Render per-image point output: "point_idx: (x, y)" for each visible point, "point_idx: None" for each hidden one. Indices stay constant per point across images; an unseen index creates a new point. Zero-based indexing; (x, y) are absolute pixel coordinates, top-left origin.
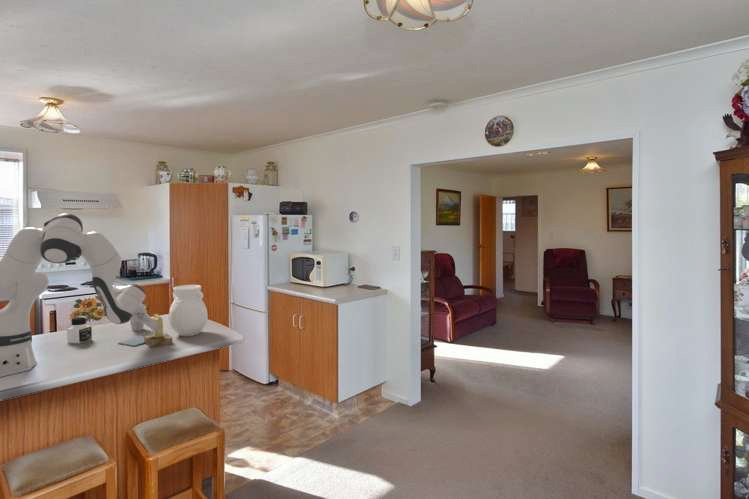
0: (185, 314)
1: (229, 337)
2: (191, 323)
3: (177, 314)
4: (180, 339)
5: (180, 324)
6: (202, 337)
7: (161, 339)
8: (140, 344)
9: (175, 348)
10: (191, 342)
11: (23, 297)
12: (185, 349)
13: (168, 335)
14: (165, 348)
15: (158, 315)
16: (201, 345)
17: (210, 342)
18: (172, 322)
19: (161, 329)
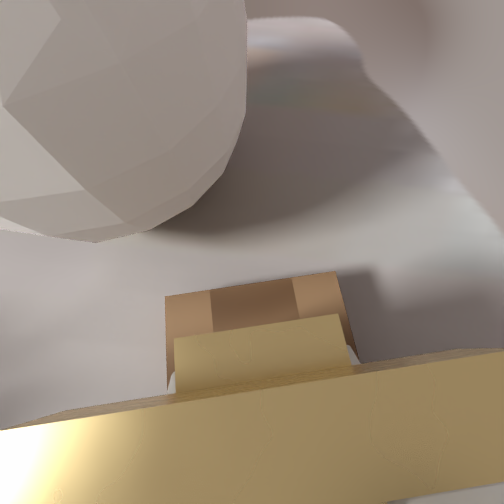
0: (221, 6)
1: (324, 39)
2: (246, 83)
3: (155, 76)
4: (240, 228)
5: (218, 157)
6: (261, 126)
7: (357, 357)
8: None
9: (450, 277)
10: (342, 183)
11: None
12: (490, 227)
13: (252, 290)
14: (430, 338)
15: (259, 413)
16: (427, 148)
17: (382, 108)
18: (130, 209)
19: (348, 351)
